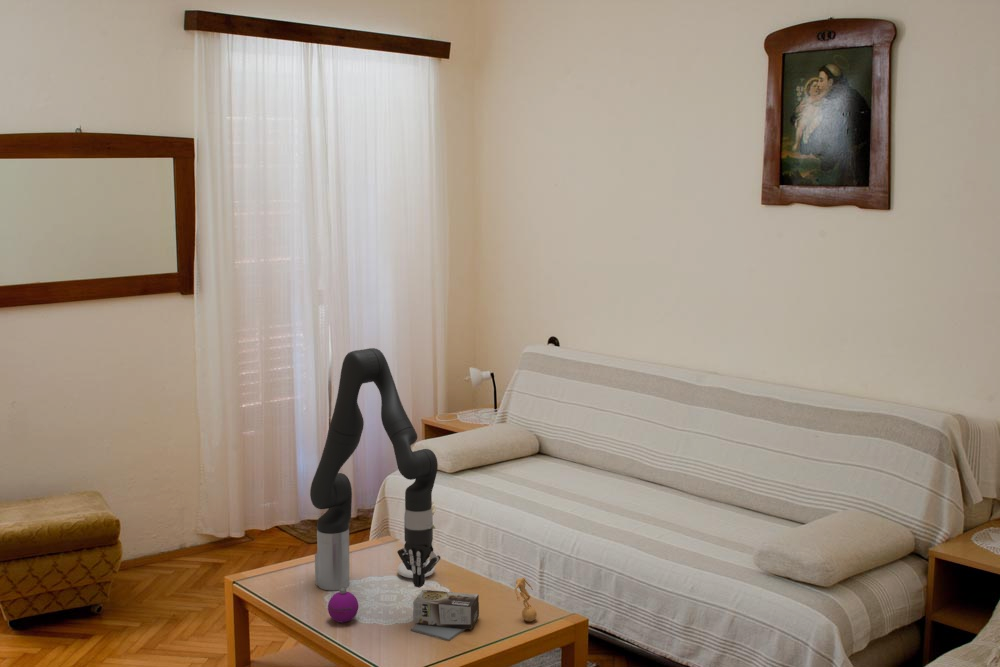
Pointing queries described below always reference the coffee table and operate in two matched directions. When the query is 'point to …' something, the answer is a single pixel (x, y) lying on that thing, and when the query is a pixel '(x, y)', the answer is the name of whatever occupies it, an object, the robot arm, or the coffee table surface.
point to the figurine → (529, 611)
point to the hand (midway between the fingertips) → (419, 586)
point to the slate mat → (437, 631)
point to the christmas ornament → (343, 606)
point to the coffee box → (446, 609)
